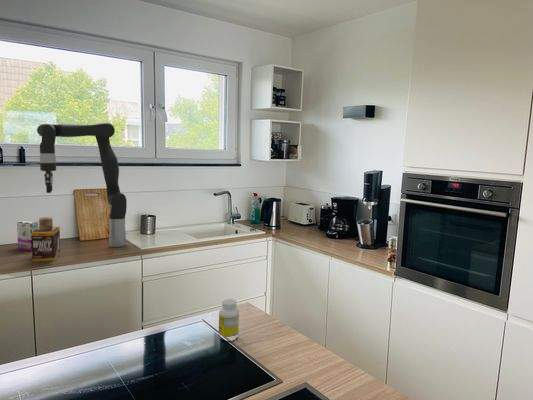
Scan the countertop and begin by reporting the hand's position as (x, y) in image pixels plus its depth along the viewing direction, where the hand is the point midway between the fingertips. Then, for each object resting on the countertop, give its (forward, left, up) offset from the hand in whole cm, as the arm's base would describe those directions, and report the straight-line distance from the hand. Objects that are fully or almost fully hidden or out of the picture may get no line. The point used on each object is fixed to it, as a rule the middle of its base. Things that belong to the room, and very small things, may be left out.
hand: (49, 191), depth 214 cm
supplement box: (+2, +3, -36) cm, 36 cm away
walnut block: (+2, +3, -20) cm, 20 cm away
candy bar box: (+13, -17, -36) cm, 42 cm away
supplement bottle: (-62, +122, -36) cm, 141 cm away
